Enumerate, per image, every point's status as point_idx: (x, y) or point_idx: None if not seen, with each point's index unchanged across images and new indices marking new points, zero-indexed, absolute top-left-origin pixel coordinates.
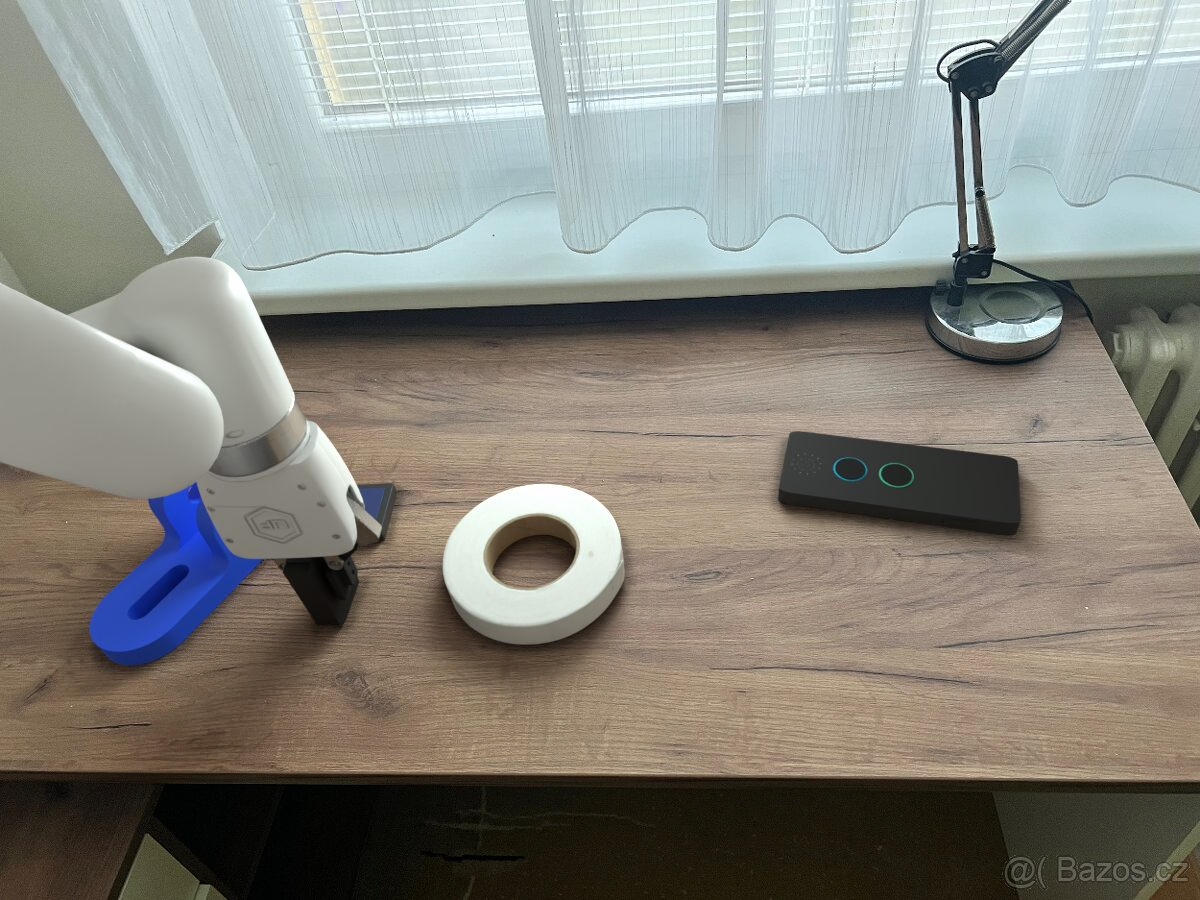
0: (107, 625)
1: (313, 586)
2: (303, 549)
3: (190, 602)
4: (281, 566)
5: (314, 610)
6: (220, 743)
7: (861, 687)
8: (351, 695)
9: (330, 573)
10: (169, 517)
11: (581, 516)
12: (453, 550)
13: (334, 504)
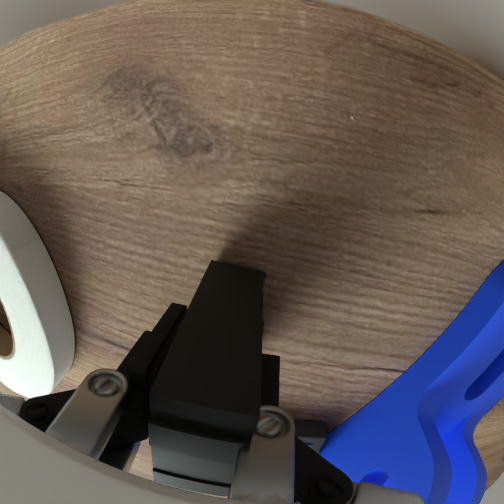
0: None
1: (184, 341)
2: (27, 490)
3: (478, 343)
4: (286, 425)
5: (244, 291)
6: (412, 60)
7: None
8: (178, 104)
9: (133, 366)
10: (472, 464)
11: None
12: (38, 344)
13: None
